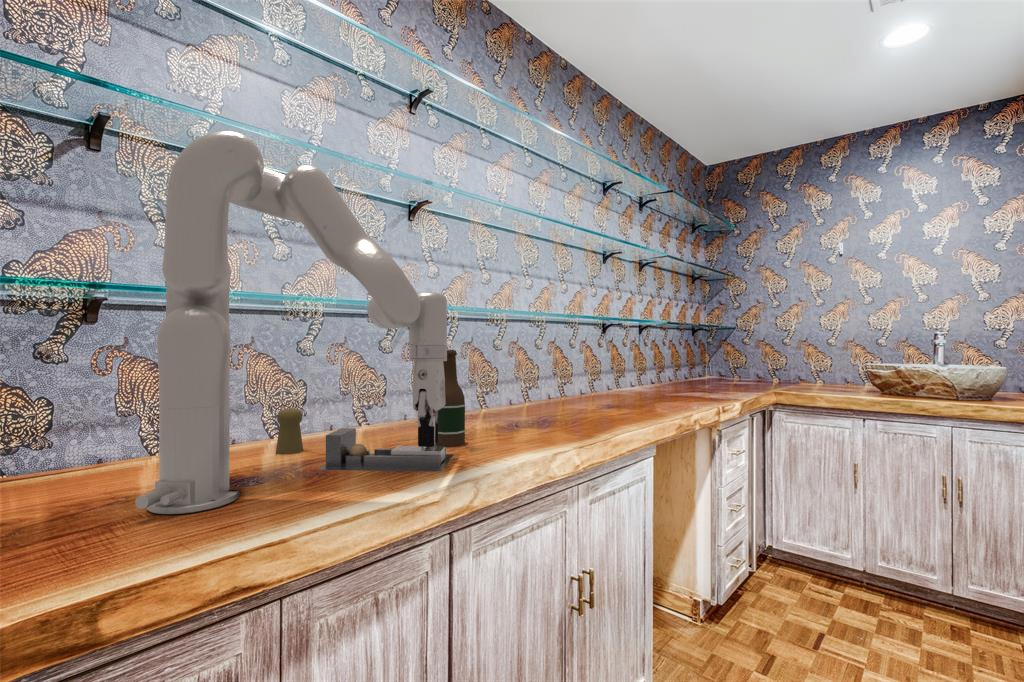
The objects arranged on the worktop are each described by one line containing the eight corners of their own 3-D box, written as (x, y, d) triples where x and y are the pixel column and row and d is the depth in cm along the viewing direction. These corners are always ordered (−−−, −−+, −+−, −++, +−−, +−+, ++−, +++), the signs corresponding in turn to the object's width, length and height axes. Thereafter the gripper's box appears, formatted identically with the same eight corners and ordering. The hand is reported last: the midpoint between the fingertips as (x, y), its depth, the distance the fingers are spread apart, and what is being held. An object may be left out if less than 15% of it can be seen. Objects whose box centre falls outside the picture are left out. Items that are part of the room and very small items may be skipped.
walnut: (363, 463, 98) (363, 445, 98) (346, 463, 98) (346, 445, 98) (369, 459, 101) (369, 442, 101) (352, 459, 101) (352, 442, 101)
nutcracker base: (441, 479, 92) (441, 439, 92) (316, 477, 93) (316, 438, 93) (453, 461, 106) (453, 426, 106) (345, 459, 107) (345, 425, 107)
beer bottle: (471, 451, 116) (471, 350, 116) (441, 455, 111) (441, 350, 111) (456, 445, 122) (456, 349, 122) (427, 449, 118) (427, 349, 118)
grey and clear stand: (440, 463, 96) (440, 413, 97) (390, 462, 97) (391, 412, 97) (444, 458, 101) (444, 410, 101) (397, 457, 101) (397, 409, 101)
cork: (296, 461, 105) (296, 410, 105) (269, 461, 106) (269, 410, 106) (309, 455, 111) (309, 407, 112) (282, 455, 112) (283, 407, 112)
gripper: (438, 355, 91) (438, 453, 91) (453, 353, 107) (453, 437, 107) (398, 354, 91) (398, 453, 91) (419, 353, 107) (419, 436, 107)
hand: (428, 443), depth 99 cm, fingers closed on grey and clear stand, 2 cm apart
